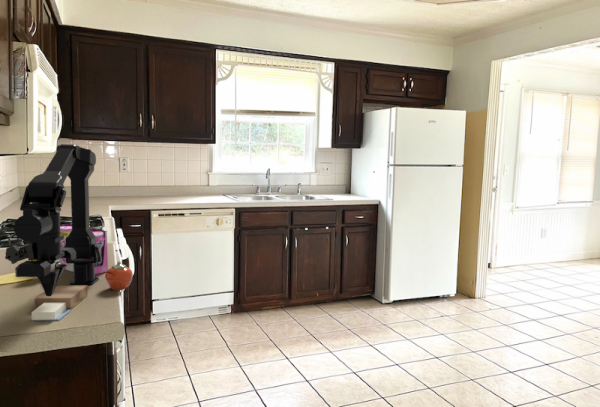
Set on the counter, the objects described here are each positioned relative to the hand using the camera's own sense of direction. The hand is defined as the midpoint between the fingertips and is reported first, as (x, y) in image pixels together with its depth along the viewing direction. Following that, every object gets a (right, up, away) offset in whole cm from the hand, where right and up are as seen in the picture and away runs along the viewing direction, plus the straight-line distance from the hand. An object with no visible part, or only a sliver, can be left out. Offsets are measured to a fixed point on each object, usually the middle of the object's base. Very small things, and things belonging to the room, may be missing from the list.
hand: (49, 295), depth 111 cm
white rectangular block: (+1, -4, -2) cm, 5 cm away
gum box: (-13, +1, +42) cm, 44 cm away
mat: (+1, -4, -1) cm, 5 cm away
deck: (-1, -3, +8) cm, 8 cm away
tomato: (+9, -2, +21) cm, 23 cm away
